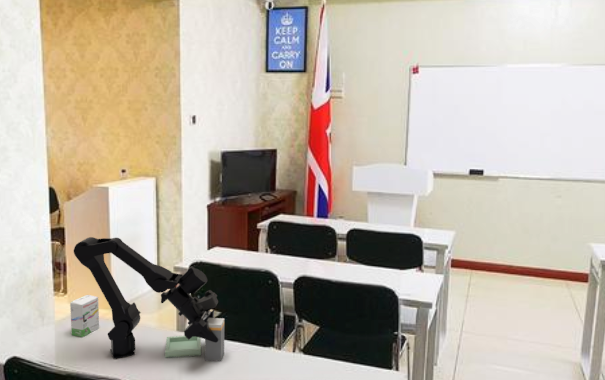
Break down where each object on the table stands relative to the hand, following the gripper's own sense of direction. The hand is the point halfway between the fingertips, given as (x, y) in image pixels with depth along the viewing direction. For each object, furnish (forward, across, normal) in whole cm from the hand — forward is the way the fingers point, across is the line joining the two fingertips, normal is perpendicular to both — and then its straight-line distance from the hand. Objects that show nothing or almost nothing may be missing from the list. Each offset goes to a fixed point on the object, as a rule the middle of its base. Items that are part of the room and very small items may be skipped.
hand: (219, 337), depth 161 cm
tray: (-4, +5, +14) cm, 15 cm away
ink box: (-30, +14, +40) cm, 52 cm away
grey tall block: (+4, 0, +6) cm, 7 cm away
